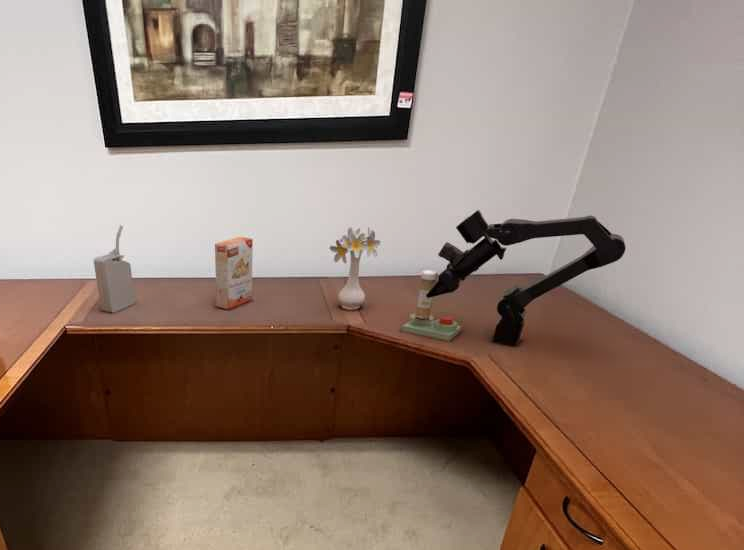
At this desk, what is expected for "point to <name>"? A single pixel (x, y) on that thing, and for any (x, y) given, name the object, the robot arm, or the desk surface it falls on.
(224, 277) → the cracker box
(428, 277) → the sprinkles bottle
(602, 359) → the desk surface
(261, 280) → the desk surface
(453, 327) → the warmer
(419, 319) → the plate
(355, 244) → the flower vase
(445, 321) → the button
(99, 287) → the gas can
